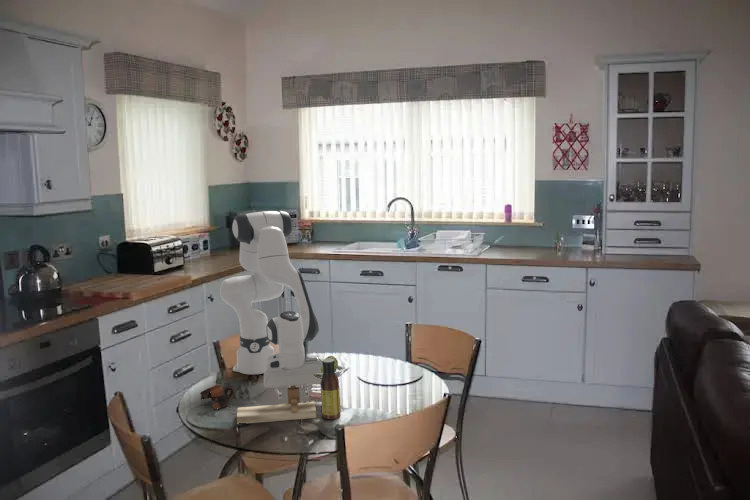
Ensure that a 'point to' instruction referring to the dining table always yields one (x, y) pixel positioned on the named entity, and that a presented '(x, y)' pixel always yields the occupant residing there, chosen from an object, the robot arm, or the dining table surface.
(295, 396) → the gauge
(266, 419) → the board
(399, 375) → the dining table surface
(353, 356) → the dining table surface
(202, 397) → the rusty valve
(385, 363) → the dining table surface
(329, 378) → the sauce bottle
